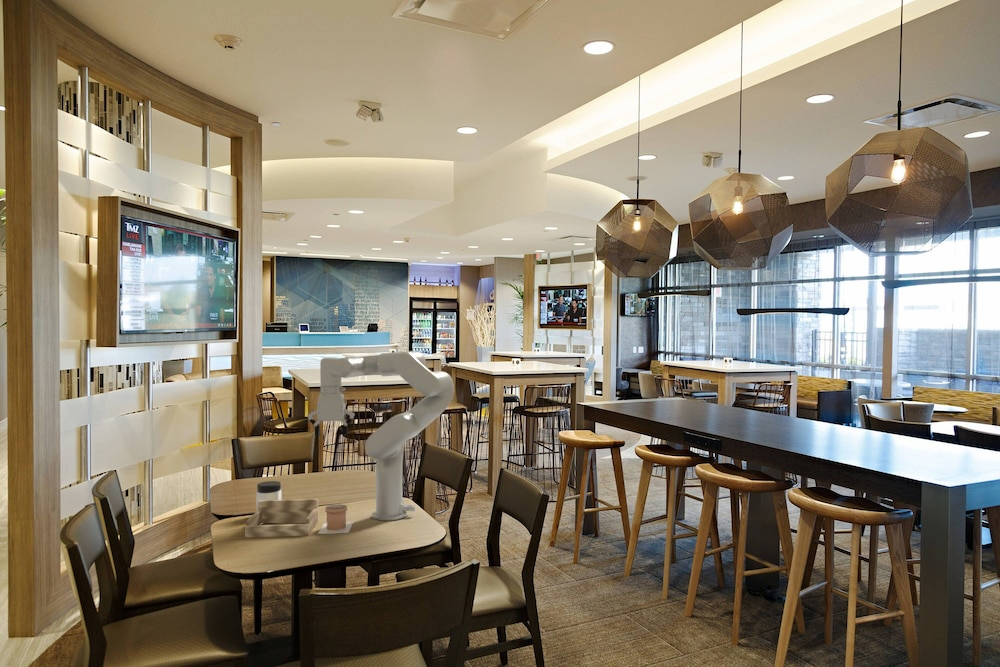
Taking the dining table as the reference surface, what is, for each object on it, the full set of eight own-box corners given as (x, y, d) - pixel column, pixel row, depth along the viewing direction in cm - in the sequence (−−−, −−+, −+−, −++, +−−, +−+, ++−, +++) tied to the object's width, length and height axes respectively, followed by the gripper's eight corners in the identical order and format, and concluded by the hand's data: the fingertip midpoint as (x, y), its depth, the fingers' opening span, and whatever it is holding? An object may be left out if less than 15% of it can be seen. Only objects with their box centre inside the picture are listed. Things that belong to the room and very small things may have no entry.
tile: (353, 522, 231) (353, 521, 231) (348, 533, 219) (348, 532, 219) (324, 523, 230) (324, 522, 230) (317, 534, 218) (317, 533, 218)
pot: (348, 524, 228) (348, 503, 228) (345, 530, 221) (345, 509, 221) (327, 524, 228) (327, 504, 228) (323, 530, 220) (323, 509, 220)
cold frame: (318, 521, 233) (317, 498, 233) (308, 535, 217) (308, 511, 217) (259, 523, 231) (259, 500, 231) (245, 537, 215) (244, 513, 215)
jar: (259, 520, 234) (259, 487, 234) (253, 515, 241) (253, 483, 241) (284, 516, 239) (284, 483, 239) (278, 511, 246) (278, 479, 246)
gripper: (355, 389, 249) (356, 434, 249) (309, 390, 248) (309, 435, 248) (353, 391, 242) (353, 437, 242) (305, 391, 240) (305, 438, 240)
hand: (331, 436), depth 245 cm, fingers open, 9 cm apart
